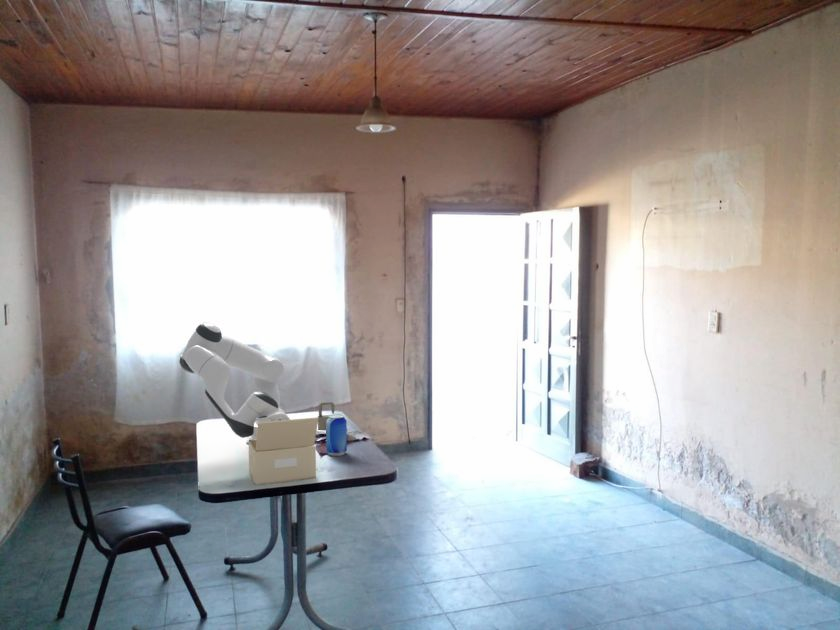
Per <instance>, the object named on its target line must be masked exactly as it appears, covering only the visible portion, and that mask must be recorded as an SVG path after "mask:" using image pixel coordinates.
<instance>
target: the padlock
mask: <svg viewBox="0 0 840 630" xmlns="http://www.w3.org/2000/svg"><path fill="white" fill-rule="evenodd" d="M323 406H331V414H332V415H333V414H335V411H336V410H335V409H336V407H335V402H332V401H322V402H319V404H318V416H317V417H318V424H317V431H318V430H326V421H327V419H328V418H329V417H328V416H329V415H330V414H326V415H325V414H324V415H323V409H322V408H323Z"/></svg>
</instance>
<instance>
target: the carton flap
mask: <svg viewBox="0 0 840 630" xmlns="http://www.w3.org/2000/svg"><path fill="white" fill-rule="evenodd" d="M317 431H318V416H317V417H308V418H305V417H304V418H296V419H290V420H281V421H269V422H258V428H257V440H256V451H260V450H270V449H280V448H290V447H301V446H311V445H315V442H316V437H317Z"/></svg>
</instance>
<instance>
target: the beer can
mask: <svg viewBox="0 0 840 630" xmlns="http://www.w3.org/2000/svg"><path fill="white" fill-rule="evenodd" d="M328 415H329V416H328V417H329V418H328V419H327V421H326V434H325V435H326V436H325V438H326V439H325V441H326V452H327V454H328V455H329V456H331V457H338V456H344V455H346V452H347V450H348V447H347V446H348V444H347V440H348V438H347V435H348V433H347V432H348V431H347V430H348V428H347V426H348V425H347V422H348V421H347V419H346V418H345V414H339V413H337V414H336V413H334V414H333V413H332V414H328Z"/></svg>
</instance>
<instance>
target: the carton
mask: <svg viewBox="0 0 840 630" xmlns="http://www.w3.org/2000/svg"><path fill="white" fill-rule="evenodd" d="M256 440H257V439H255V440H249V444H248V471H249V474H250V476H251V478H252V480H253V481H252V482H253V483H255V484H254V486H257V485H256V484H261V485H267V483H270V484H276V483H277V484H279V483H284V482H285V483H286V482H294V481H301V480H302V481H303V480H311V479H317V466H316V465H317V463H316V462H317V460H316V458H317V455H316V449H317V447H316V445H315V444H314V445H311V446H301V447H290V448H280V449H270V450H260V451H256Z"/></svg>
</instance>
